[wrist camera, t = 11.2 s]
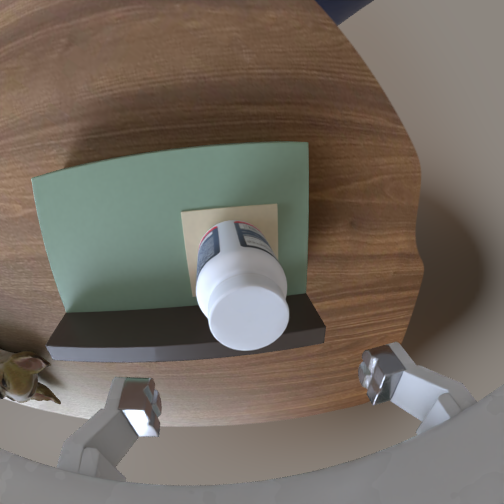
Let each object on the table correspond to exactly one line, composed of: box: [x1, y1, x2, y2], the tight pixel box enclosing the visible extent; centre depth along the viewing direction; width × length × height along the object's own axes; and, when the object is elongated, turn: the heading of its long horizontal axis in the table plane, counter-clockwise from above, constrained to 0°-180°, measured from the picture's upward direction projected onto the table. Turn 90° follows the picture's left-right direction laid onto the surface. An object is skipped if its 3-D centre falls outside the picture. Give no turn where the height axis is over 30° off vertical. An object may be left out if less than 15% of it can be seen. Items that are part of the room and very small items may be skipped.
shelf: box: [32, 141, 326, 362], centre depth 21 cm, size 14×22×11 cm, turn 93°
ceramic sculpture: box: [0, 349, 61, 404], centre depth 26 cm, size 11×9×15 cm
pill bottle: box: [196, 220, 289, 351], centre depth 18 cm, size 5×5×9 cm
